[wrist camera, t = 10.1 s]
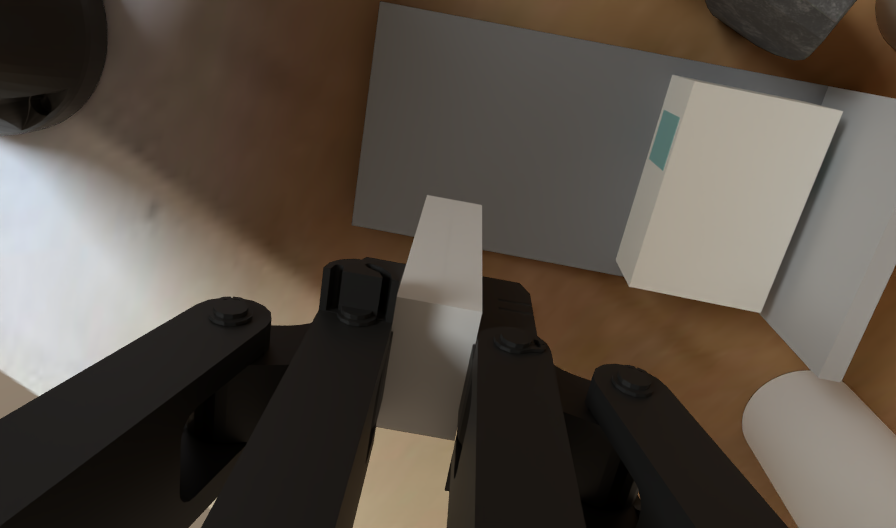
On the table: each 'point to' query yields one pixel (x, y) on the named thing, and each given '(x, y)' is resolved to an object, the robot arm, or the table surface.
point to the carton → (722, 192)
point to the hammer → (782, 22)
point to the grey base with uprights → (607, 160)
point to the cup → (823, 452)
